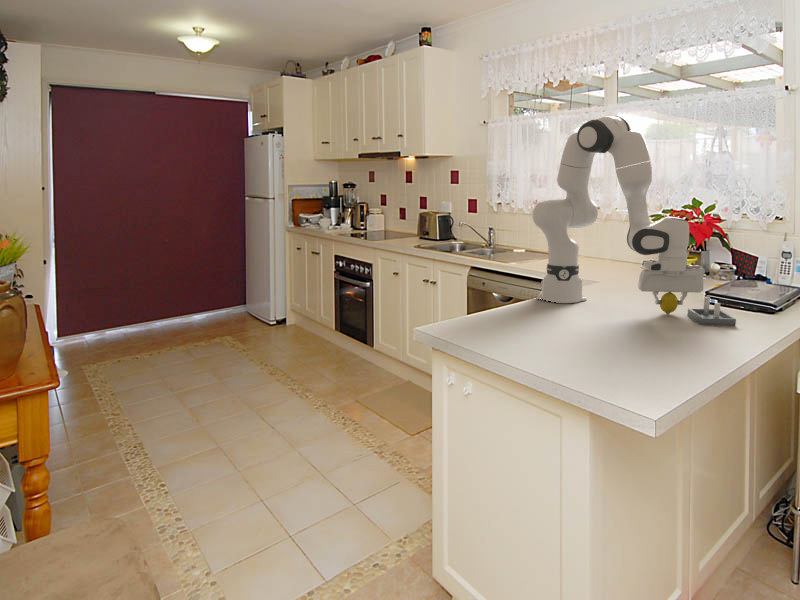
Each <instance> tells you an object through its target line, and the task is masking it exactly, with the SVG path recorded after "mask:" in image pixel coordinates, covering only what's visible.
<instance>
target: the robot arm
mask: <svg viewBox="0 0 800 600" xmlns="http://www.w3.org/2000/svg"><path fill="white" fill-rule="evenodd" d="M607 152H608V153H609V154H611V156H612V158H613V161H614V167H615V174H616V177H617V180H618V183H619V185H620V186H619V187H620V189H621V191H622V193H623V196H624V198H625V201H626V206H627V207H626V208H627V214H628V220H629V228H628V232H627V236H626V244H627V245H628V247H629V248H630V249H631V251H633V252H635V253H637V254H639V255H643V256H650V255H656V254H657V255H658V258H656V259H652V260H647V261H645V262H643V264H642V267H643V269H642V270H641V272H640V274H639V278H638V284H637V288H638V289H639V291H640V292H652V295H653V297H654V299H655V301H654V303H655V305H660V304H661V298H659V297H658V295H659V292H661V293H668V292H671V293H680V295H681V296H680V297H679V298H677V300H678V305H677V306H683V304H684V300H685V299H686V298H687V296H688V293H696V294H697V293H699V294H700V293H702V292H703V290H704V277H705V271H706V270H705V268H704V267H703V266H702V265H699V264H695V265H693V264H688V246H689V244H690V223H689V222H688V221H687V220H686V219H684V218H680V217H675V216H668V215H667V216H665V217H663V218H662V219H660V220H658V221H656V222H655V223H651V222H650V218H649V212H648V205H647V193H648V190H649V188H650V186H651V183H652V182H653V181H652V179H653V167H652V161H651V160H652V159H651V155H650V151H649V148H648V145H647V141H646V139H645V136H644V135H643V133H642V132H640V131H637V130H632V125H631V124H630V122H629V121H628V120H627V119H626V118H625V117H623V116H620V115H619V116H618V115H614V116H603V117H600V118H596V119H591V120H587V122H586V121H585V122H584V123H583V124H582V125H581V126H580V128H579V129H578V130H577V132H575V133H572V134H571V135H569V137H568V138H567V141H566V143H565V145H564V148H563V151H562V155H561V159H560V164H559V169H558V174H557V178H556V182H557V184H558V186H559V188H561V190H563V191H565V192H566V196H565V199H564V198H563V199H548V200H543V201H540V202H538V203H536V205H535V206H534V208H533V210H532V220H533V222H534V224H535V226H536V227H538V229H540V230H541V232H542V233H543V234H544V236H545V238H546V241H547V247H548V249H547V250H548V261H547V262H548V263H547V265H546V273H547V274H546V275H545V276H544V277H543V278H542V280H541V282H540V287H541V288H540V290H541V291H540V292H539V294H538V295H537V297H536V300H538V299H539V301H544V300H546V301H545V302H548V301H551V302H550V303H554V302H556V303H555V304H557V303H558V304H574V303H579V302H586V301H587V297H586V296H584V295H583V279H582V278H581V277H580V276H579V273H580V264H579V251H580V250H579V244H578V242H577V241H576V240H574V239H573V238H571V237H569V235H568V229H581V228H586V227H589V226H593V224H595V222H596V221H597V219H598V215H599V212H598V211H599V209H598V207H597V204H596V203H595V202H594V201H593V200H592V199H591V197H590V194H589V193H590V192H589V181H590V176H591V171H592V166H593V162H594V158H595V155H596V154H598V153H599V154H606V153H607ZM540 298H541V300H540ZM542 299H543V300H542Z"/></svg>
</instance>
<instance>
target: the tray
mask: <svg viewBox="0 0 800 600" xmlns="http://www.w3.org/2000/svg"><path fill="white" fill-rule="evenodd" d="M710 300H711V297H710V296H705V297H704V301H703V308H687V314H686V316H687V317H688V318H690V319H691V320H692V321H694V322H695V323H696V324H698V325H699V326H700V325H701V326H702V327H723V326H735V327H736V322H737V318H736V317H733V316H732V315H730V314H728V313H727V312H725V311H723V310H722V309H721V305H722V304H721V302H714V308H710V302H711V301H710ZM701 326H700V327H701Z"/></svg>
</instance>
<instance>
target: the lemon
mask: <svg viewBox="0 0 800 600" xmlns="http://www.w3.org/2000/svg"><path fill="white" fill-rule="evenodd" d="M660 299H661V304H659V307H660V310H661V311H663V312H664V313H665V314H666V315H670V314H671V313H674V312H675V311H676V309H677V308H678V306H679V305H678V300H677V299H678V297H677V296H676V294H674V292H664V293H663V295H662V296H661V297H660Z"/></svg>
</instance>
